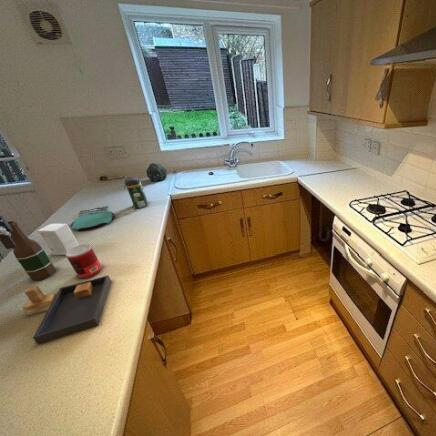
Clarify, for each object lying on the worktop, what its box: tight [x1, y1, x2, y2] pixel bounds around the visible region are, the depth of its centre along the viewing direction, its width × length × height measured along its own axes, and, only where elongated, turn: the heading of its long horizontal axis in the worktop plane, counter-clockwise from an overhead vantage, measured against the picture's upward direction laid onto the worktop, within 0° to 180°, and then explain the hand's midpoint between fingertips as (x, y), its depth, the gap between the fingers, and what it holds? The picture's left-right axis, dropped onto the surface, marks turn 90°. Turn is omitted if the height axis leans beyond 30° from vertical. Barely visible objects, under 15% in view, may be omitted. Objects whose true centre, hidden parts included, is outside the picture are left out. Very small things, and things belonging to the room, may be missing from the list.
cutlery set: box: [70, 205, 115, 231], centre depth 138 cm, size 20×30×2 cm, turn 33°
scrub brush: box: [22, 284, 57, 316], centre depth 79 cm, size 7×4×9 cm, turn 115°
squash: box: [146, 162, 168, 182], centre depth 194 cm, size 14×15×15 cm
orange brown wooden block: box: [74, 282, 94, 299], centre depth 85 cm, size 4×4×3 cm
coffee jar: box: [124, 175, 149, 209], centre depth 148 cm, size 10×8×19 cm
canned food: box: [65, 243, 102, 279], centre depth 94 cm, size 8×8×11 cm
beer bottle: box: [2, 220, 57, 281], centre depth 90 cm, size 8×8×24 cm
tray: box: [32, 275, 112, 345], centre depth 80 cm, size 15×22×3 cm
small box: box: [37, 223, 80, 256], centre depth 107 cm, size 8×6×13 cm
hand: (4, 255), depth 70 cm, fingers open, 8 cm apart
